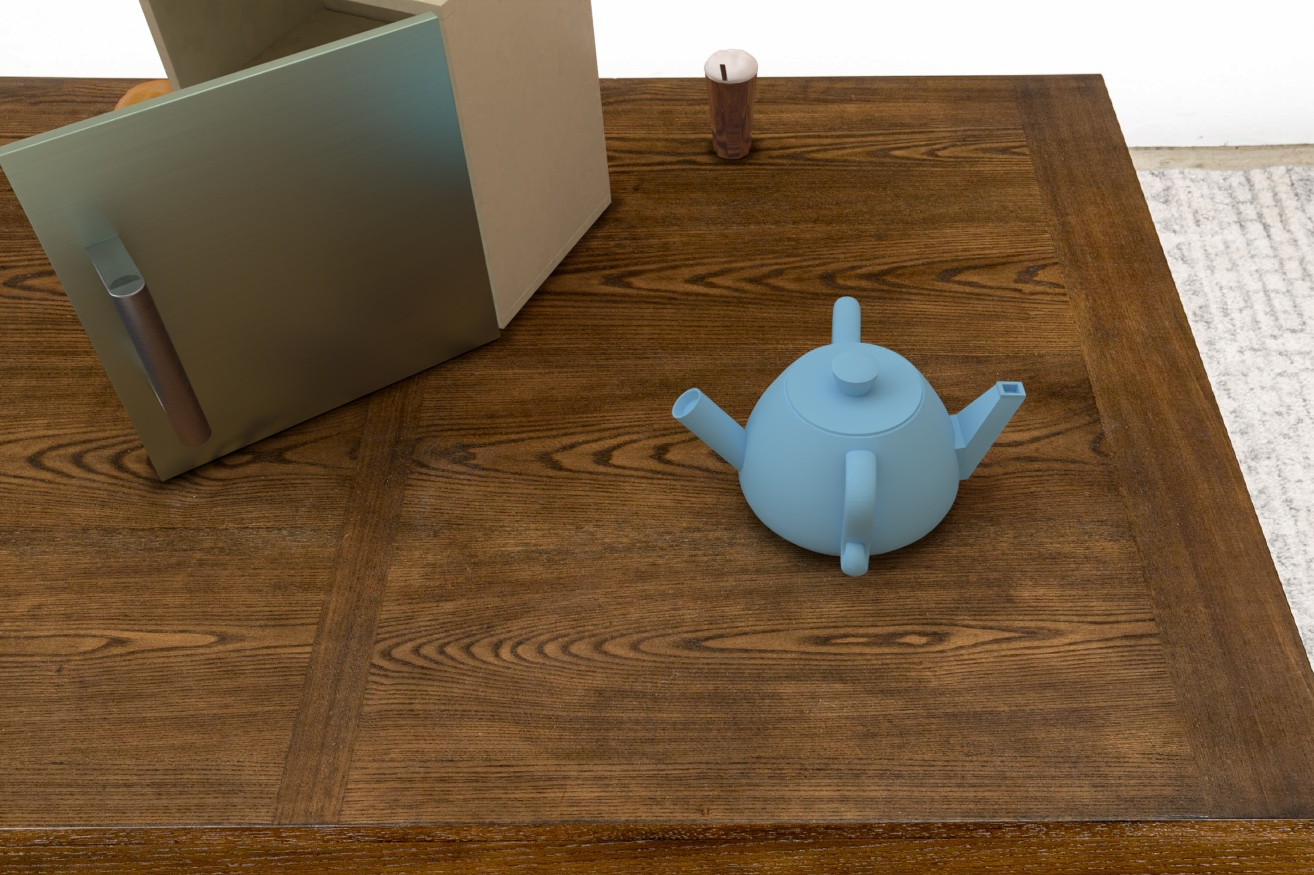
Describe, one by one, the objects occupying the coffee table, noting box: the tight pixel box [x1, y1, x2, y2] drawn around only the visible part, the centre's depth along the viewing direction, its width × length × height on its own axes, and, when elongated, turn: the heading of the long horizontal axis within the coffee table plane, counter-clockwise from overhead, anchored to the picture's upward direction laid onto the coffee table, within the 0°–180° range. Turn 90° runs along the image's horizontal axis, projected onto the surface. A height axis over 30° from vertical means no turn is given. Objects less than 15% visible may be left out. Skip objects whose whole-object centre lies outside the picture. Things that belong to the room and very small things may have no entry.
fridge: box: [138, 0, 612, 330], centre depth 97 cm, size 18×26×26 cm
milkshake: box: [703, 48, 759, 160], centre depth 109 cm, size 4×5×10 cm
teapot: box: [671, 296, 1027, 578], centre depth 81 cm, size 15×17×11 cm
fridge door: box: [0, 11, 502, 482], centre depth 81 cm, size 7×26×26 cm, turn 124°
